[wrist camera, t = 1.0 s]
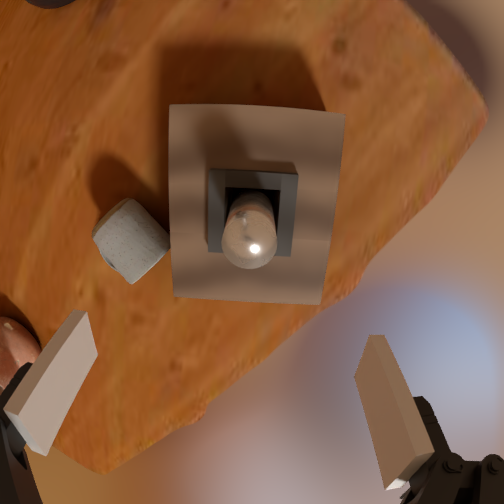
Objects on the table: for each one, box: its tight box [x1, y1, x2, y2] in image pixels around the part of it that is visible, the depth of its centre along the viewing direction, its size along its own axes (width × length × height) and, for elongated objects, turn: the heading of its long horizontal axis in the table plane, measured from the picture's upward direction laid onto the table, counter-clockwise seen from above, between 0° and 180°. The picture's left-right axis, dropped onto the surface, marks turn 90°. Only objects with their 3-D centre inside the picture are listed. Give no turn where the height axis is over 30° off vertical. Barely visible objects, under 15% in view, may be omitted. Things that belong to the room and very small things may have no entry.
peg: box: [222, 190, 277, 269], centre depth 27 cm, size 4×4×8 cm
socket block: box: [169, 104, 345, 305], centre depth 34 cm, size 20×16×9 cm
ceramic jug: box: [0, 317, 42, 395], centre depth 44 cm, size 18×14×14 cm
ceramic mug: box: [92, 198, 171, 284], centre depth 37 cm, size 11×8×8 cm
